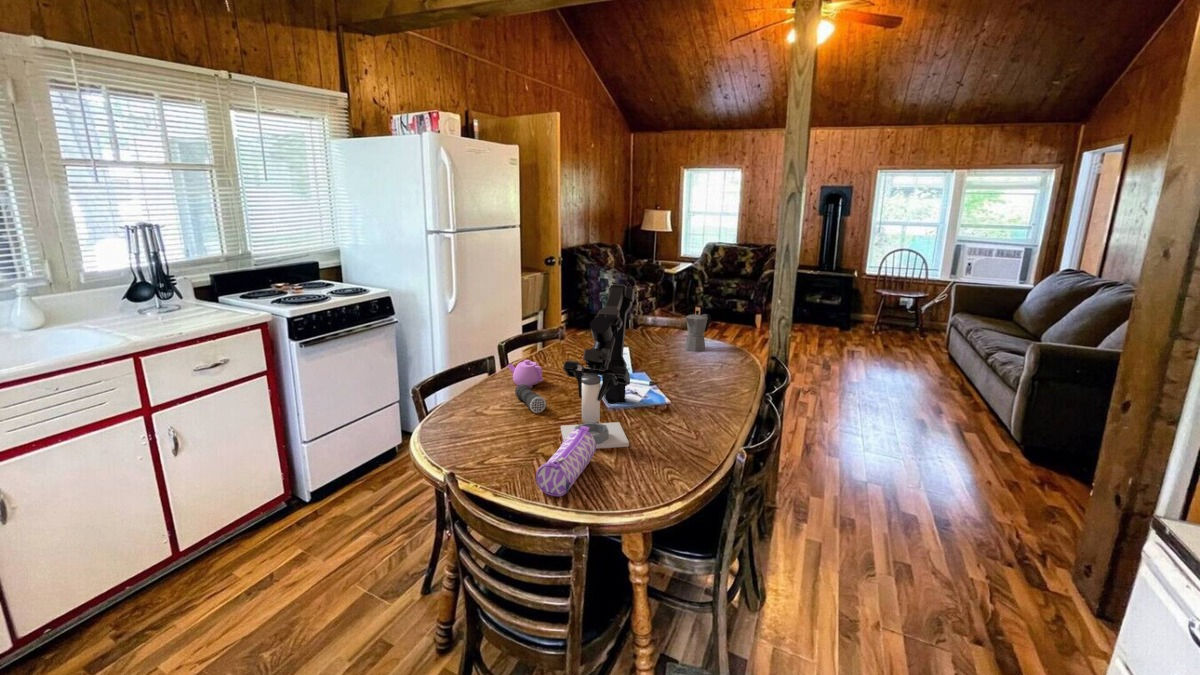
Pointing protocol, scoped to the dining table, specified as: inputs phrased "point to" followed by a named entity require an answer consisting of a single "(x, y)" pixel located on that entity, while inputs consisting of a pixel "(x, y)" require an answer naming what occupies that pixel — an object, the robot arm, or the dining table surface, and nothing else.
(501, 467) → the dining table surface
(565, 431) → the socket plate
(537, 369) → the teapot
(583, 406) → the canister
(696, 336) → the coffeepot
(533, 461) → the dining table surface
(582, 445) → the pencil case
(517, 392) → the flashlight
